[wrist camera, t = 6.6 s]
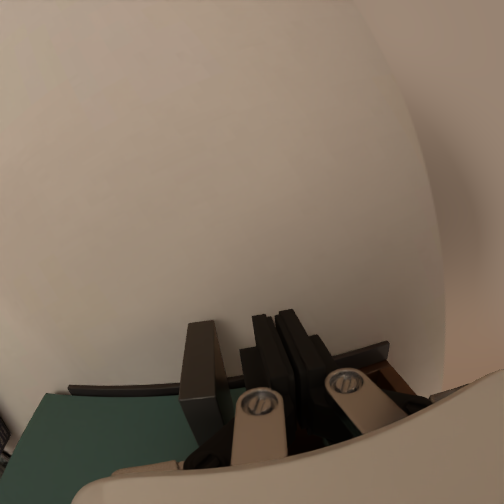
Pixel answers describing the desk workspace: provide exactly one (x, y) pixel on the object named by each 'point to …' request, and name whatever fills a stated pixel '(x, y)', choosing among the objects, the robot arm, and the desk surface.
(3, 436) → the small box
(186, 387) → the door
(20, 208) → the desk surface
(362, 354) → the cupboard
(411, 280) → the desk surface
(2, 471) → the beverage can
